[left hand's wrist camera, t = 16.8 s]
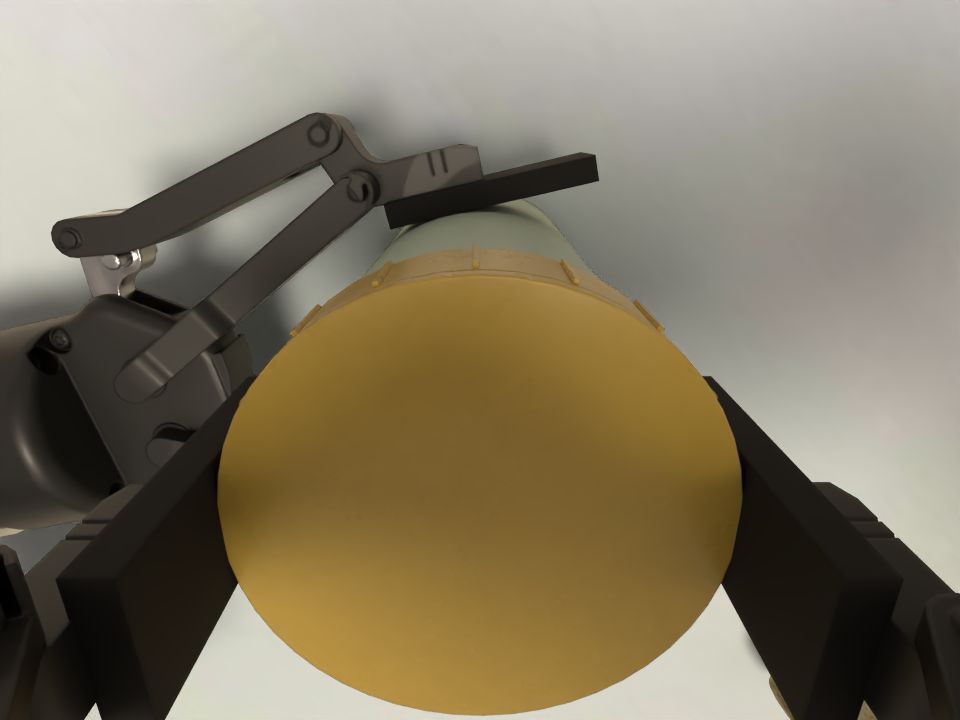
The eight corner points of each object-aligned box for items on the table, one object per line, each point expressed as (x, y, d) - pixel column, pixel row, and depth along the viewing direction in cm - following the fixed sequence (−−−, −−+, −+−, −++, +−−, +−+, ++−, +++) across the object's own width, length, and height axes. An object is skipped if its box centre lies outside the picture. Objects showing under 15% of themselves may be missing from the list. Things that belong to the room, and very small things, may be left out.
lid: (552, 684, 15) (564, 773, 13) (194, 534, 13) (140, 608, 11) (796, 390, 12) (862, 444, 10) (373, 148, 10) (346, 151, 8)
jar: (359, 220, 26) (170, 355, 10) (549, 164, 25) (668, 215, 9) (419, 392, 29) (347, 702, 13) (591, 347, 28) (734, 621, 12)
